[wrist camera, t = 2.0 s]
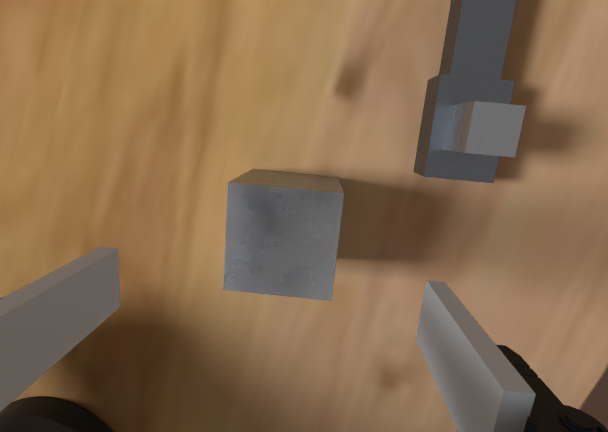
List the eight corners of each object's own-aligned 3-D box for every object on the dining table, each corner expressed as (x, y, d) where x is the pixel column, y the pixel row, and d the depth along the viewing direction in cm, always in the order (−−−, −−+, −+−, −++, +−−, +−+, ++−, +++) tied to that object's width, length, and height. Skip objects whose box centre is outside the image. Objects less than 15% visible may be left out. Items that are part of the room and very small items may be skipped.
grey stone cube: (247, 250, 31) (223, 289, 23) (252, 169, 30) (228, 182, 22) (328, 258, 31) (331, 300, 23) (337, 177, 30) (344, 193, 22)
